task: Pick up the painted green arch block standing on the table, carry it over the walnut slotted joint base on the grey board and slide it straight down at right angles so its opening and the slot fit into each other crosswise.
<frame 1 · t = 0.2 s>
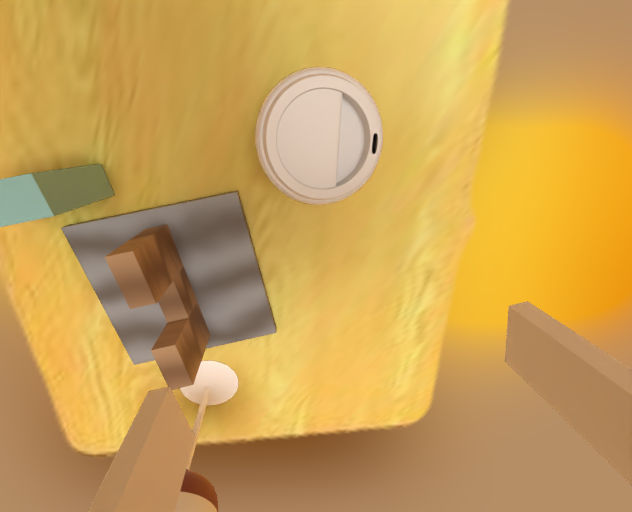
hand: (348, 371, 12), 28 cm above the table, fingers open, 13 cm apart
coffee cup: (305, 140, 34), on the table
wineglass: (209, 382, 45), on the table
green arch block: (67, 187, 33), on the table
joint base: (183, 282, 39), on the table
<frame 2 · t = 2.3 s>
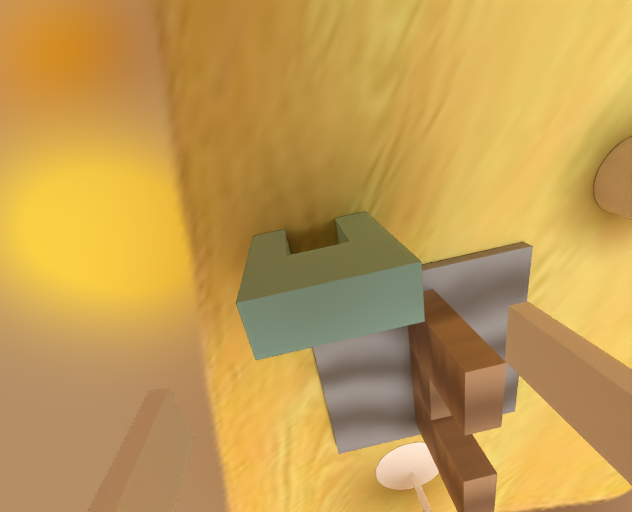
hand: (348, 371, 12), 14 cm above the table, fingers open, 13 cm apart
coffee cup: (628, 174, 25), on the table
wineglass: (409, 465, 36), on the table
green arch block: (314, 244, 24), on the table
joint base: (419, 355, 30), on the table
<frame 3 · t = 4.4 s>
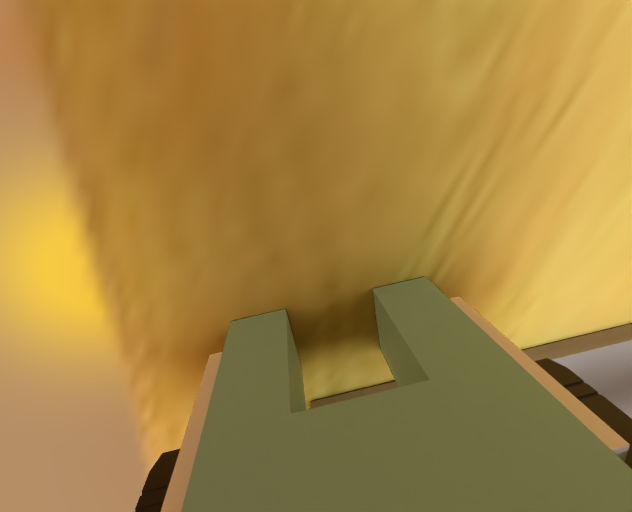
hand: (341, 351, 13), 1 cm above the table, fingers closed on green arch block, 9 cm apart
green arch block: (335, 330, 14), on the table, touching gripper
joint base: (488, 474, 20), on the table
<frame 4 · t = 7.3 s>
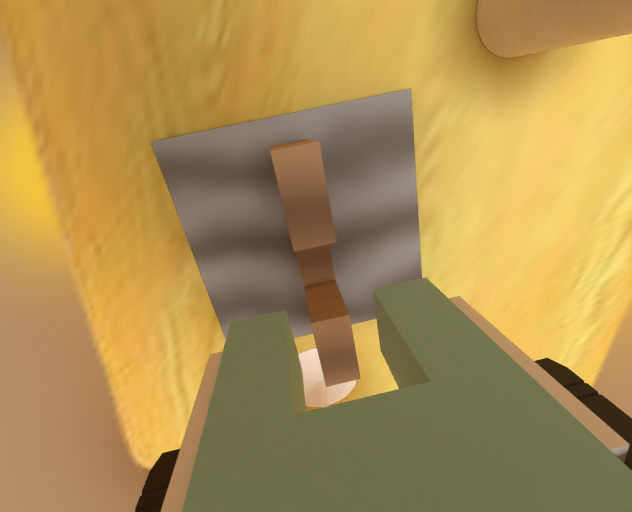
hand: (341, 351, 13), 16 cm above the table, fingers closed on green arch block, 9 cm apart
coffee cup: (514, 8, 23), on the table
wineglass: (320, 377, 34), on the table
green arch block: (335, 331, 14), point 14 cm above the table, touching gripper
joint base: (307, 234, 27), on the table
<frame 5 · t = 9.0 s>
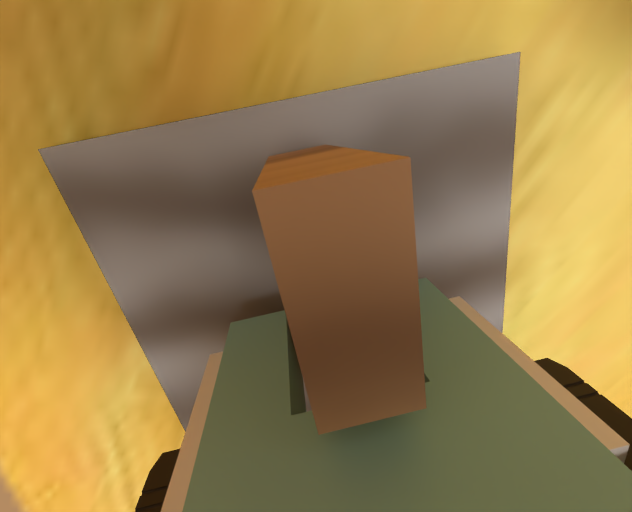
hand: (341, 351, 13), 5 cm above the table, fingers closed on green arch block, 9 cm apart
green arch block: (335, 331, 14), point 3 cm above the table, touching gripper
joint base: (326, 296, 17), on the table
when the fingers open (4 cm above the table, at t = 10.3 s): green arch block drops 1 cm, resting on joint base.
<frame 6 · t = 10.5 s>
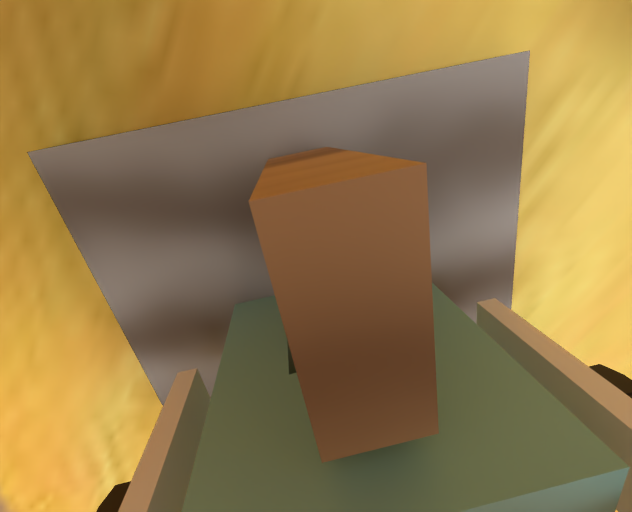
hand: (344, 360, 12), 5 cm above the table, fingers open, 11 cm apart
green arch block: (330, 313, 15), point 1 cm above the table, touching joint base
joint base: (327, 303, 16), on the table
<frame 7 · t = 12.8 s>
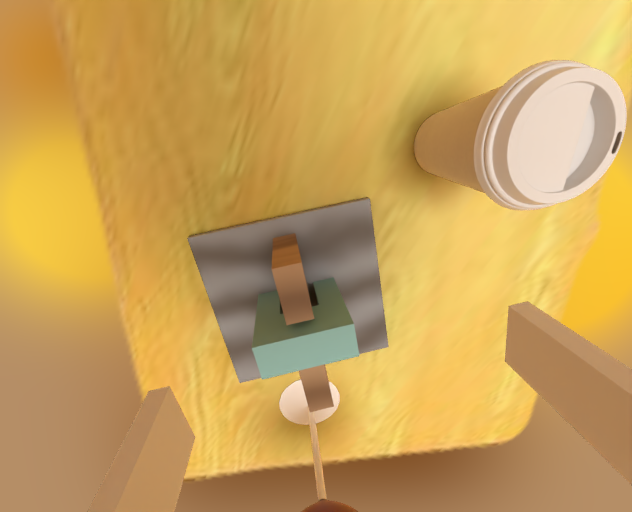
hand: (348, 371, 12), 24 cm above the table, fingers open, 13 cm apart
coffee cup: (441, 143, 33), on the table
wineglass: (309, 400, 43), on the table
green arch block: (299, 298, 36), point 1 cm above the table, touching joint base
joint base: (298, 294, 37), on the table
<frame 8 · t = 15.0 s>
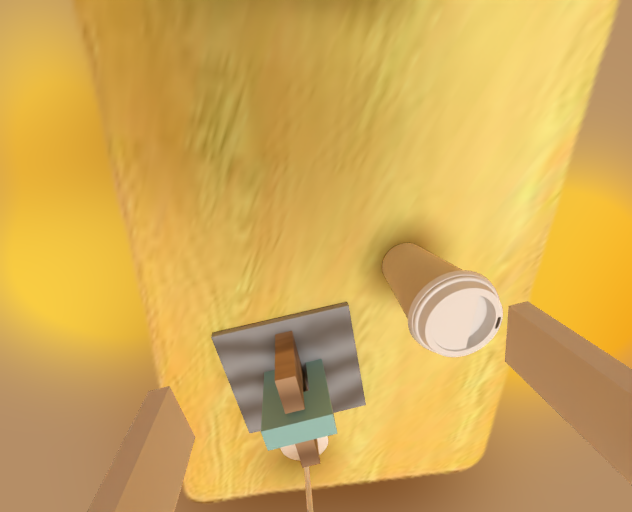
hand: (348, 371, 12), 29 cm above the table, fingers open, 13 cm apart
coffee cup: (403, 263, 43), on the table
wineglass: (304, 442, 54), on the table
green arch block: (295, 374, 46), point 1 cm above the table, touching joint base
joint base: (295, 369, 47), on the table
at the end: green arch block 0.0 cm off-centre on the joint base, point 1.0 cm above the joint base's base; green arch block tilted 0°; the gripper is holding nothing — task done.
